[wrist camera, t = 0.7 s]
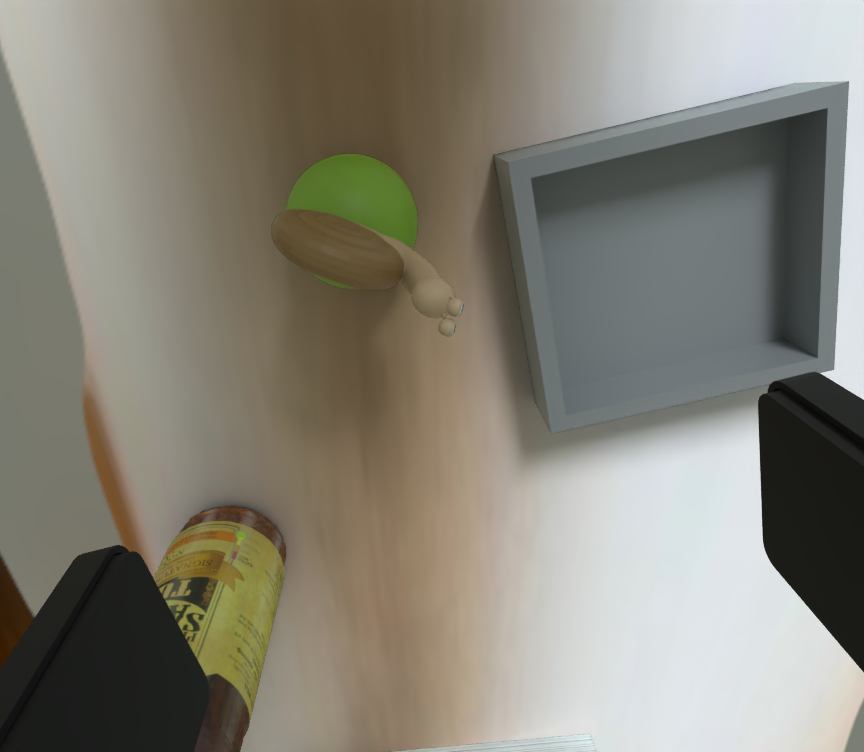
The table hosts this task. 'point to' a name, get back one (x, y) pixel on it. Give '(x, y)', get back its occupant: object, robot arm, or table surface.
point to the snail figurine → (361, 233)
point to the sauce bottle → (225, 610)
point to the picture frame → (523, 745)
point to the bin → (679, 253)
